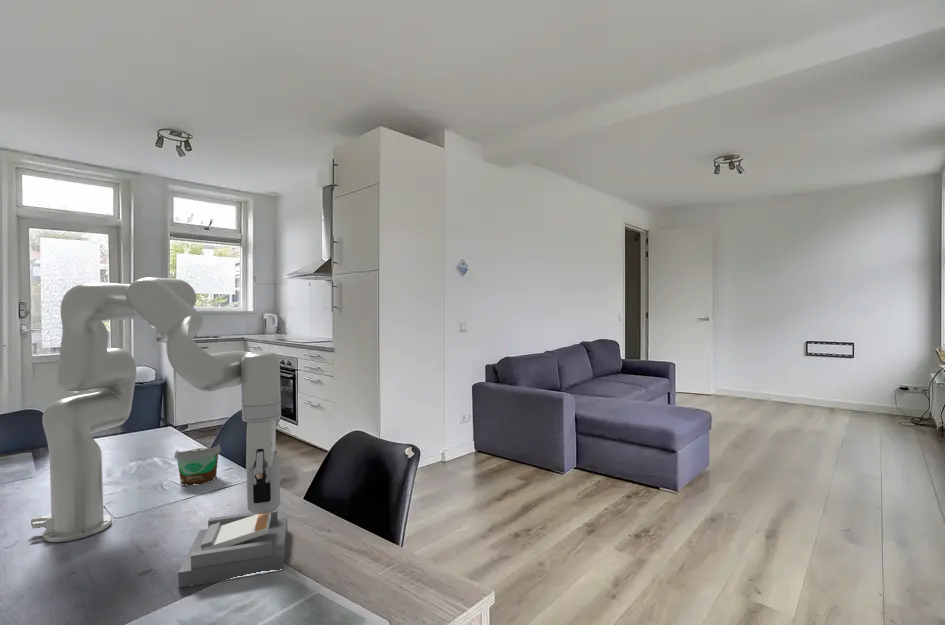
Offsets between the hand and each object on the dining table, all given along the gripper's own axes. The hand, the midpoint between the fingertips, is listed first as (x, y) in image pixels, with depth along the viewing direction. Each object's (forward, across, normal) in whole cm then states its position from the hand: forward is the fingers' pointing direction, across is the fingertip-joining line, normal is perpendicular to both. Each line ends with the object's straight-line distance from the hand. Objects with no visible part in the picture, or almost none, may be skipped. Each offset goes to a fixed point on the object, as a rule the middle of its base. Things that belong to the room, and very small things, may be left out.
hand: (263, 495), depth 103 cm
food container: (+12, -51, -23) cm, 57 cm away
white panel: (+7, 0, -5) cm, 9 cm away
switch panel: (+12, 0, -5) cm, 13 cm away
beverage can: (+3, 0, 0) cm, 3 cm away
